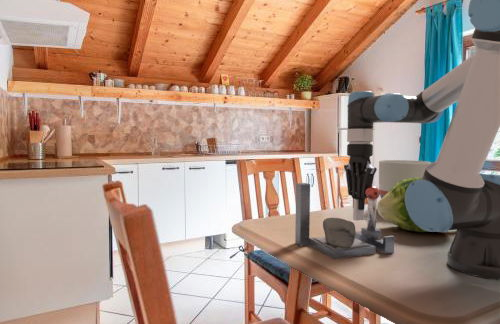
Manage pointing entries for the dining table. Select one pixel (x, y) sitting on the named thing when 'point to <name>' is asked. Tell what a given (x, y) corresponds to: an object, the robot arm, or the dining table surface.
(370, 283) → the dining table surface
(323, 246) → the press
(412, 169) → the planter
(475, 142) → the robot arm
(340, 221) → the stone
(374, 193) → the lever
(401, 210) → the lettuce
